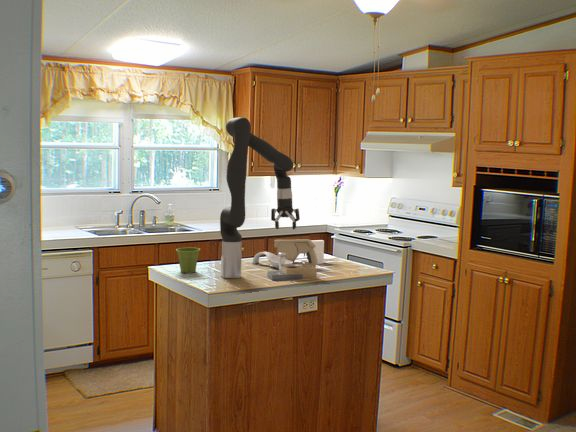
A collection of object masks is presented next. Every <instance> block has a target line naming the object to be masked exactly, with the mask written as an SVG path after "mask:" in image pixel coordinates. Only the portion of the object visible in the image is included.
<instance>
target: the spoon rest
mask: <svg viewBox="0 0 576 432" xmlns="http://www.w3.org/2000/svg"><path fill="white" fill-rule="evenodd" d="M262 255H265V257H266V258H267V259H268V261H269V263H270V264H271V266H272V267H273V268H275V269H278V270H279V256H277V254H275V253H272V252H269V251H260V252H258V253H256V254H255V255H254V257H253V259H252V264H253V265H255V264H259V262H260V257H261V256H262ZM290 265H293V261H291V260H288V259H285V266H290Z"/></svg>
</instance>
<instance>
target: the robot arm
mask: <svg viewBox="0 0 576 432" xmlns="http://www.w3.org/2000/svg"><path fill="white" fill-rule="evenodd" d="M251 125H252V124H251V122H250V120H249V119H248V118H246V117H242V116H241V117H232V118H230V119H228V121H227V122H226V125H225V129H226V132H227V134H228V135H229V136H230V137H232V138H234V140H233V141H234V146H233V150H232V152H231V154H230V157H229V159H228V161H227V166H226V183H227V187H228V189H229V193H230V198H231V199H230V201H231V203H230V206H226V207H224V208H223V209H222V211H221V212H220V215H219V229H220V230H219V231H220V236H221V242H222V243H221V256H220V276H221V277H222V278H223V279H239V278H241V277H242V250H243V249H242V243H243V241H242V239H243V237H242V234H241V233H240V232H239V230H238V228H240V227H242V226H243V225H244V224H245V220H246V182H247V181H246V180H247V172H248V171H247V168H248V166H247V164H248V153H249V151H248V150H249V147H250V149H252V150H253V151H255V152H256V153H258V154H259V156H261V157H262V158H264V159H265V160H266V161H267V162H269V163H272V164H273V171H274V175H275V179H276V187H277V188H276V189H277V190H276V201H277V202H276V203H277V204H276V205H277V208H271V214H270V215H271V216H270V217H271V218H270V220H271V221H273V222H274V227H275V229H276V230H279V229H280V222H279V221H280V219H281V218H289V219H290V220H291V221H292V223H291V224H292V230H296V228H297V222H298V221H300V220H301V219H300V209H299V208H293V192H292V191H293V190H292V179H291V177H290V176H289V175H288V174H287V172H291V171H292V170H293V168H294V161H293V159H291V158H290V157H289V156H288V155H286V154H285V153H283V152H281V151H279V150H277V149H276V148H275V147H274V146H273V145H271V144H270V143H269V142H268V141H266V140H264V139H262V138H260V137H259V136H257V135H255V134H253V133H252V132H251V131H252V126H251ZM276 213H277V214H278V215H276ZM293 213H294V214H295V216H294V215H293Z"/></svg>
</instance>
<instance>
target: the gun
mask: <svg viewBox="0 0 576 432" xmlns="http://www.w3.org/2000/svg"><path fill="white" fill-rule="evenodd" d="M273 242H274V248H276V251H277V252H276V255H277V256H279V255H278V253H286V256H285V259H288V260H291V261H293V264H292V265H312V266H314V267H315V268H317V261H318V260H317V257H316V254H315V251H314V247H315V244H314V243H313V242H312V241H311V239H274V240H273ZM309 244H310V245H311V246H310V245H309ZM300 254H303V257H306V260H307V259H308V262H307V261H296V260H297V259H298V257H299V256H300Z"/></svg>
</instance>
